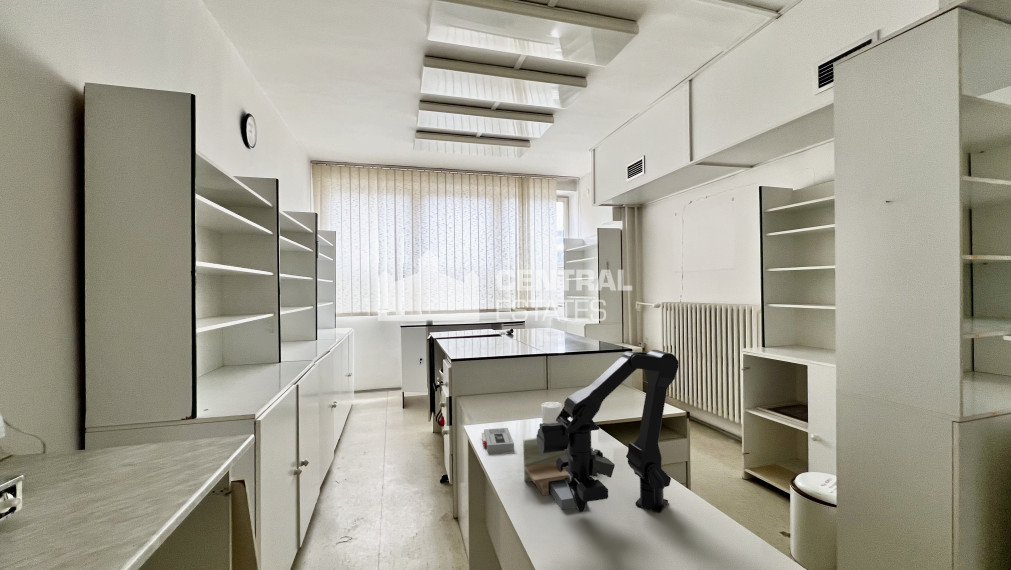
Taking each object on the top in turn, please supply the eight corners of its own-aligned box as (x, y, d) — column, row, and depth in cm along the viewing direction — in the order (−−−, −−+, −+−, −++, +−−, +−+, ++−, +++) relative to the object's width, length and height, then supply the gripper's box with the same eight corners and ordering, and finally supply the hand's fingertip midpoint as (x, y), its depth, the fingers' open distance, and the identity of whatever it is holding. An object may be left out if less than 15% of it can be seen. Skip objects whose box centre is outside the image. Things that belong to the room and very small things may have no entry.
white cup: (548, 425, 170) (547, 400, 170) (565, 429, 166) (565, 403, 166) (538, 431, 164) (537, 405, 164) (555, 435, 159) (555, 408, 159)
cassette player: (513, 443, 145) (484, 445, 144) (514, 451, 145) (484, 453, 144) (507, 427, 161) (481, 429, 160) (507, 434, 161) (481, 436, 160)
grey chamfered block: (587, 505, 109) (587, 496, 109) (561, 509, 108) (561, 499, 108) (565, 477, 125) (565, 469, 125) (543, 480, 123) (542, 472, 123)
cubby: (589, 488, 118) (588, 445, 118) (535, 496, 114) (534, 452, 114) (574, 472, 128) (574, 433, 128) (524, 480, 124) (523, 439, 124)
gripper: (628, 459, 97) (630, 527, 97) (593, 431, 115) (595, 488, 116) (583, 465, 95) (584, 535, 95) (554, 436, 113) (556, 494, 113)
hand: (581, 511), depth 105 cm, fingers closed
